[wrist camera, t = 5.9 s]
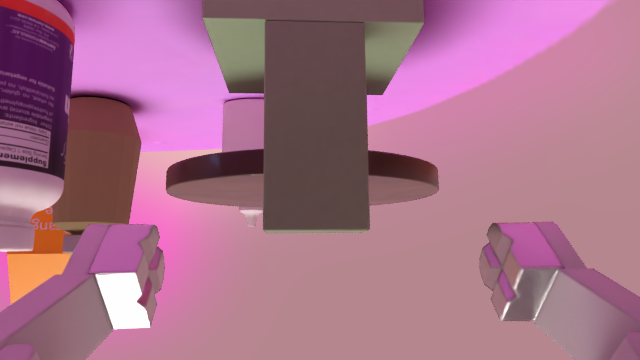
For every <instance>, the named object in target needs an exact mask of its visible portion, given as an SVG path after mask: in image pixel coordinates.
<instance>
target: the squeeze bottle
mask: <svg viewBox="0 0 640 360" xmlns="http://www.w3.org/2000/svg"><path fill="white" fill-rule="evenodd" d="M140 149H141V140H140V136H139V133H138V129H137V126H136V123H135V119H134V116H133V112H132V109H131V108H130V107H129V106H128V105H126V104H124V103H121V102H119V101H115V100H110V99H106V98H98V97H77V98H71V99H70V108H69V122H68V135H67V148H66V161H65V175H64V188H63V192H62V195H61V197H60V198H59V199H58V201H57V202H56V203H54V204H53V205H52V209H53V224H54V225H55V226H57V227H58V228H59V229H61V230H64V231H66V232H69V233H71V235H64V236H63V249H62V252H63V253H69V254H72V253H73V251H74V249H75V247H76V245H77V243H78V241H79V239H80V238H81V236H82V234H83V232H84V230H85V228H86V227H87V226H89V225H90V224H111V225H112V224H129V219H130V212H131V206H132V199H133V193H134V186H135V181H136V174H137V168H138V162H139V155H140Z"/></svg>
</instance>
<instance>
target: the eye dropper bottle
mask: <svg viewBox="0 0 640 360" xmlns="http://www.w3.org/2000/svg"><path fill="white" fill-rule="evenodd" d="M252 149H264V99H239V100H232V101H228V102H226V103H225V104H224V106H223V139H222V152H230V151H239V150H252ZM239 211H240V212H242V213H243V214H245V216H246V219H247V224H248V226H255V224H256V219H257V216H258V215H259V214H260V213H262V212H263V208H262V207H241V206H239Z"/></svg>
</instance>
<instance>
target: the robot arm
mask: <svg viewBox="0 0 640 360" xmlns="http://www.w3.org/2000/svg"><path fill="white" fill-rule="evenodd" d="M487 237H488V239H489V241H490V242H489V243H488V244H487V245H486V246H484V247H483V248H482V252H481V255H480V273H481V277H482V280H483V282H484V285H485V286H487V287H488V288H490V289H491V290H492V291H493V294H492V297H491V301H492V303H493V305H494V308H495V310H496V312H497V315H498V317H499V319H500V321H535V322H534V323H535V324H536V325H537V326H538V327H539V328H540V329H541V330H542V331H544V332H545V333H546V334H547V335H548V336H549V337H550V338H551V339H552V340H553V341H555V343H557V344H558V345H559V346H560V347H561V348H562V349H563V350H564V351H565V352H566V353H567V354H569V355H570V356H571V357H572V358H573V359H574V360H640V297H639V296H637V295H636V294H634V293H632V292H631V291H629V290H627V289H626V288H624V287H622V286H621V285H619V284H618V283H616V282H615V281H613V280H611V279H610V278H608V277H606V276H605V275H603V274H601V273H600V272H598V271H597V270H595V269H587V267H586V266H585V265H584V263H583V262H582V260H581V259H580V257H579V256H578V254H577V253H576V251H575V250H574V249H573V247H572V245H571V244H570V243H569V241H568V240H567V238H566V237H565V235H564V234H563V232H562V231H561V230H560V228H559V227H558V225H557V224H555V223H554V222H532V223H529V222H528V223H492V225H491V226H490V227H489V230H488V233H487ZM159 238H160V236H159V232H158V228H157V226H155V225H144V224H140V225H139V224H112V225H111V224H90V225H89V226H87V227H86V228H85V230H84V232H83V234H82V236H81V238H80V239H79V241H78V243H77V245H76V247H75V249H74V251H73V253H72V255H71V257H70V259H69V261H68V263H67V265H66V267H65V269H64V271H63V273H62V275H54V276H52V277H51V278H49V279H48V280H47V281H45V282H44V283H42V284H41V285H39V286H38V287H36V288H35V289H33V290H32V291H30V292H29V293H28V294H26V295H25V296H23V297H22V298H20V299H19V300H17V301H16V302H14V303H13V304H11V305H10V306H9V307H7V308H6V309H4V310H3V311H1V312H0V360H85V359H86V358H88V357H89V355H90V354H91V353H92V352H93V351H94V350H95V349H96V348H97V347H98V346H99V345H100V344H101V343H102V342H103V341H104V340H105V339H106V338H107V337H108V336H109V335H110V333H112V332H113V330H112V329H125V328H126V329H127V328H148V327H151V323H152V320H153V316H154V313H155V309H156V306H157V303H156V298H155V294H156V293H157V292H158V291H160V290H161V287H162V284H163V280H164V269H165V265H164V256H163V251H162V250H161V249H160V248H159V247H158V246H157V244H158V241H159Z"/></svg>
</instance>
